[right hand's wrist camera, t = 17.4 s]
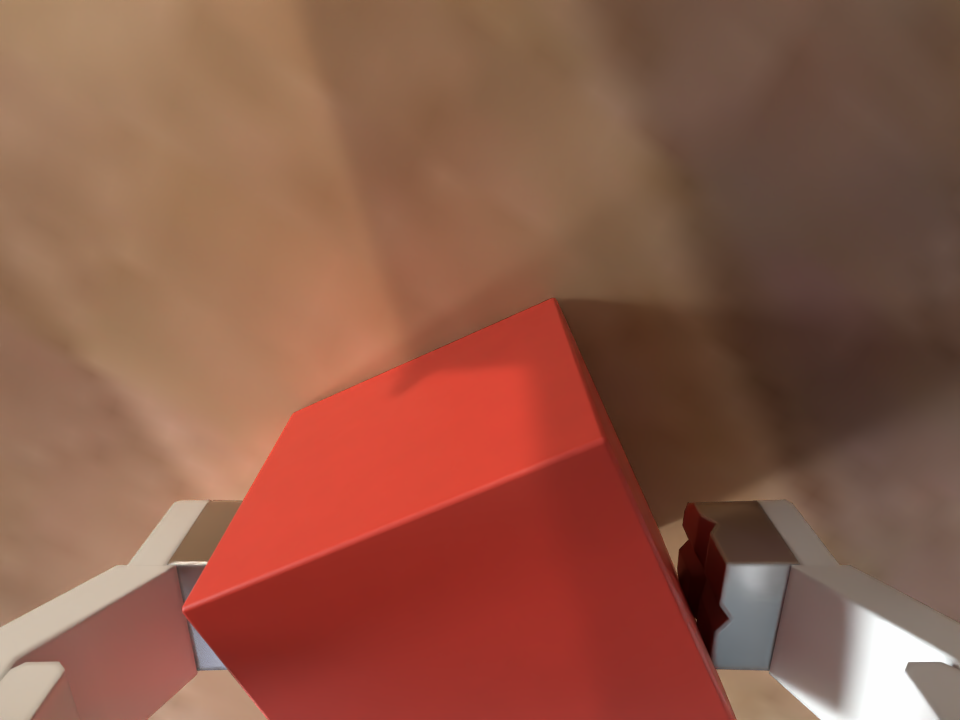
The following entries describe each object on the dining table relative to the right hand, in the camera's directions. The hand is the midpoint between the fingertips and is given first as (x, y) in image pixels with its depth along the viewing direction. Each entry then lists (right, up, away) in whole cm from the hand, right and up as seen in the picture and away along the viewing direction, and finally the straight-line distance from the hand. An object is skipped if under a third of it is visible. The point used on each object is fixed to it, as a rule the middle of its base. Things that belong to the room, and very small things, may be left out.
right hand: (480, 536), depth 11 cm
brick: (0, +1, +2) cm, 2 cm away
